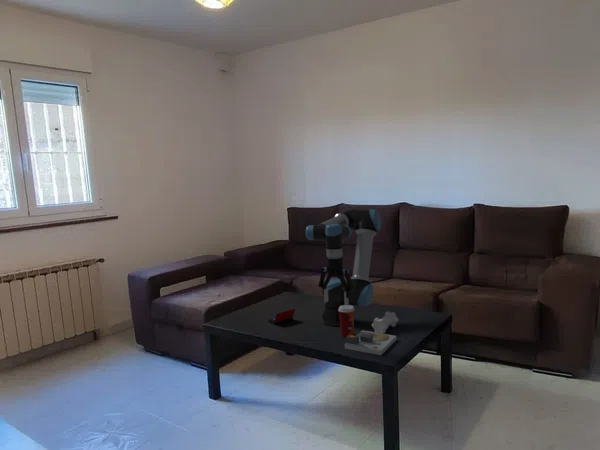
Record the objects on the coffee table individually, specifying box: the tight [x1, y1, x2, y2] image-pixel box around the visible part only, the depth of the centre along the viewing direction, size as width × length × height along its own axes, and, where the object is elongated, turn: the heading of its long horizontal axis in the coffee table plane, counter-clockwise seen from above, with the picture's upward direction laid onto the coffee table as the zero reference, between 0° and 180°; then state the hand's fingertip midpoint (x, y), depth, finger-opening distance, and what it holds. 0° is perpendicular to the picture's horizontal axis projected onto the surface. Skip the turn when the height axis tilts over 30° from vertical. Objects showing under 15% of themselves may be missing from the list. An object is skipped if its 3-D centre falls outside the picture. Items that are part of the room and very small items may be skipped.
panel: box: [344, 330, 397, 356], centre depth 217 cm, size 18×20×5 cm
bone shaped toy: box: [371, 310, 400, 334], centre depth 235 cm, size 15×9×8 cm, turn 142°
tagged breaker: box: [345, 334, 359, 345], centre depth 214 cm, size 5×3×3 cm, turn 58°
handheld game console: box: [267, 308, 296, 326], centre depth 255 cm, size 12×11×7 cm
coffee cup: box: [338, 305, 355, 339], centre depth 229 cm, size 8×8×15 cm
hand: (336, 303), depth 216 cm, fingers open, 10 cm apart
